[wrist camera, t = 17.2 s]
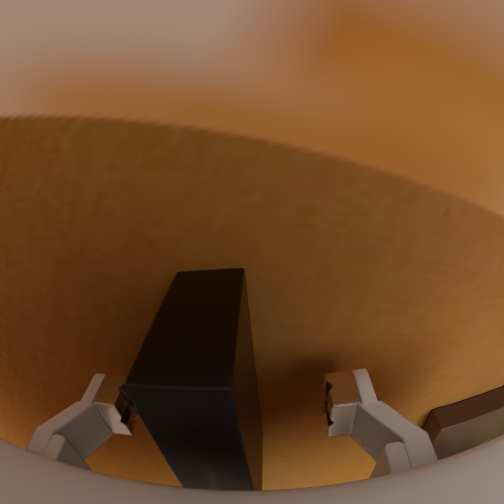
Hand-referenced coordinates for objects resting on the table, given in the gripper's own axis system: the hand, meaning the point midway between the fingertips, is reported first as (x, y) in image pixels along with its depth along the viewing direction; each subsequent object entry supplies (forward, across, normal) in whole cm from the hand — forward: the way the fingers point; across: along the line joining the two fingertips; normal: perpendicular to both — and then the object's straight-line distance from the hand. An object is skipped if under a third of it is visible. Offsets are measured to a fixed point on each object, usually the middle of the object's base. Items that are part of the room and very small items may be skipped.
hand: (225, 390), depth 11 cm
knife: (+1, 0, +5) cm, 5 cm away
